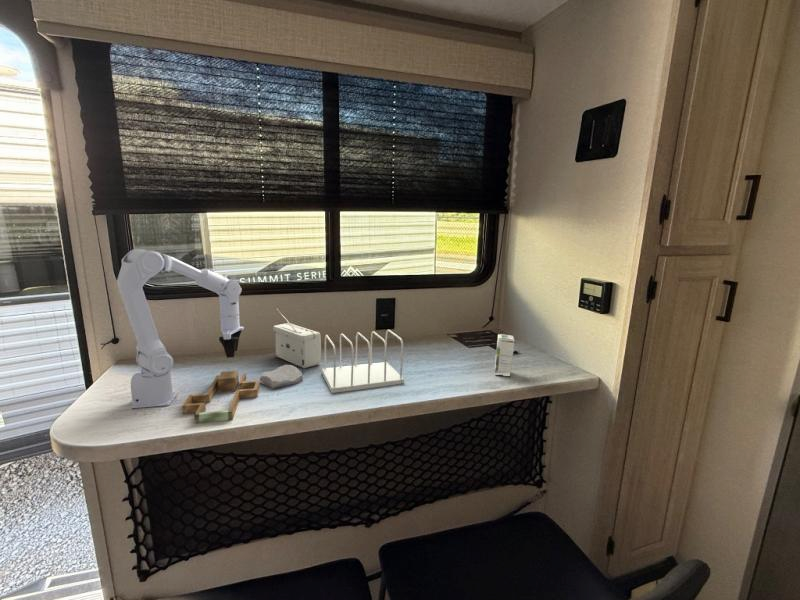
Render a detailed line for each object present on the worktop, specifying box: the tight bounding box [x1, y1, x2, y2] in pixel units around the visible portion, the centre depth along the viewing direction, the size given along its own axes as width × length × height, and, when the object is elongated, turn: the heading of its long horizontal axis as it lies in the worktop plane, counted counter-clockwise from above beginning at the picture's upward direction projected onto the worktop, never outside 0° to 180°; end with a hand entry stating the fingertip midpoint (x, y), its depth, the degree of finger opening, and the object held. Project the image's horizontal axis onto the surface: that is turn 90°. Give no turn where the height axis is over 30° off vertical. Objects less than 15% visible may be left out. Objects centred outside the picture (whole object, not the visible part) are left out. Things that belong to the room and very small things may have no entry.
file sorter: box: [321, 329, 405, 394], centre depth 127 cm, size 25×17×16 cm
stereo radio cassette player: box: [272, 308, 322, 369], centre depth 141 cm, size 21×8×20 cm, turn 50°
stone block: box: [259, 364, 304, 389], centre depth 124 cm, size 12×5×10 cm
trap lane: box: [181, 373, 261, 424], centre depth 110 cm, size 18×27×2 cm
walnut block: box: [217, 370, 240, 393], centre depth 117 cm, size 5×6×4 cm
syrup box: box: [494, 333, 515, 374], centre depth 135 cm, size 6×6×14 cm
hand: (232, 353), depth 124 cm, fingers open, 6 cm apart
